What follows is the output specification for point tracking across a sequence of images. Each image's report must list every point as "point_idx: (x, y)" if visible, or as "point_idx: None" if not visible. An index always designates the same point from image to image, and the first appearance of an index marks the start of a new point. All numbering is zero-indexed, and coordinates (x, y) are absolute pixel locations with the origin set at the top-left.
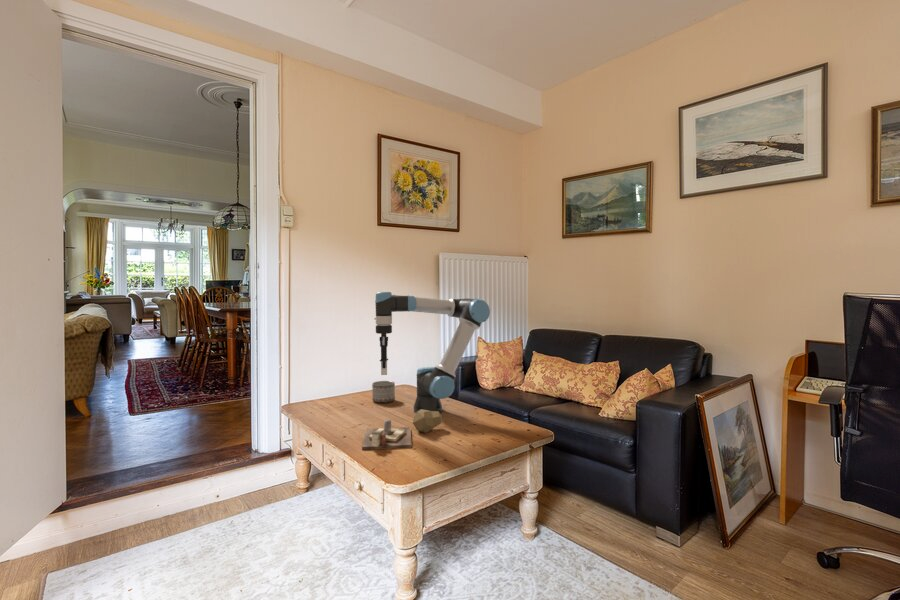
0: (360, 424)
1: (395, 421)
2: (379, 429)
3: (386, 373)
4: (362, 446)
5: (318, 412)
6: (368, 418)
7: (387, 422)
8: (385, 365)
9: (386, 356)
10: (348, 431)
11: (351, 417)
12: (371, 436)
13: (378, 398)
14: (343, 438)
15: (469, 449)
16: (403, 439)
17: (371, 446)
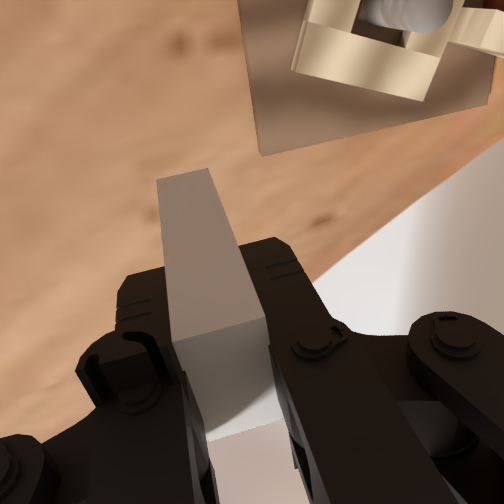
0: (155, 212)
1: (52, 14)
2: (495, 39)
3: (212, 184)
4: (484, 103)
5: (24, 429)
6: (42, 205)
7: (451, 2)
8: (284, 269)
9: (377, 443)
10: (259, 229)
11: (52, 289)
12: (427, 87)
13: None
14: (342, 218)
15: None
16: None
17: (493, 61)
